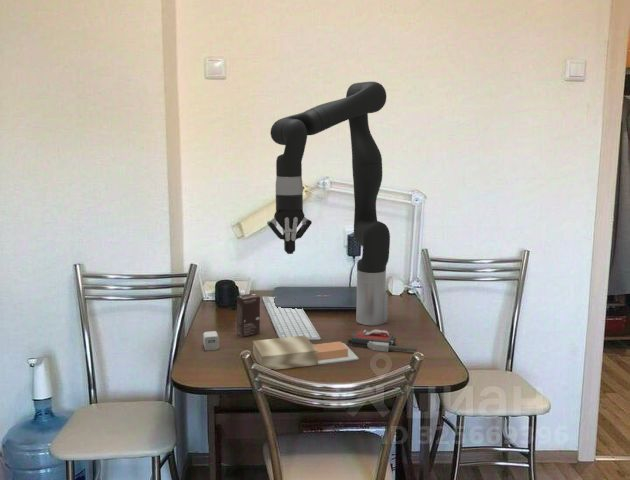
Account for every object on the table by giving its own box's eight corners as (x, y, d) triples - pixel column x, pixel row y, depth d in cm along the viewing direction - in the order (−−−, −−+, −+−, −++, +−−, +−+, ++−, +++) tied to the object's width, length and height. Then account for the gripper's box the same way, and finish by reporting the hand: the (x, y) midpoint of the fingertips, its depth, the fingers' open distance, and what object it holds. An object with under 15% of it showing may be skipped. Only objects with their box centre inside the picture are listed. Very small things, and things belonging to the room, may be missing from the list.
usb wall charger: (204, 350, 170) (204, 337, 170) (202, 342, 177) (202, 329, 176) (219, 349, 172) (218, 335, 171) (216, 341, 178) (215, 328, 177)
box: (243, 337, 180) (242, 299, 178) (236, 333, 184) (235, 295, 182) (261, 334, 184) (260, 296, 181) (254, 329, 187) (253, 292, 185)
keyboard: (321, 342, 179) (321, 334, 178) (279, 345, 176) (279, 337, 176) (295, 299, 221) (295, 293, 221) (262, 301, 219) (262, 295, 218)
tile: (340, 348, 171) (340, 341, 170) (347, 356, 165) (347, 348, 165) (310, 352, 168) (310, 345, 167) (316, 360, 162) (316, 352, 162)
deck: (305, 348, 172) (305, 335, 171) (317, 364, 160) (317, 350, 160) (253, 354, 167) (252, 340, 167) (262, 371, 156) (262, 356, 155)
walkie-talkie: (345, 349, 172) (416, 356, 167) (345, 334, 172) (416, 341, 166) (351, 338, 181) (419, 345, 176) (352, 324, 180) (419, 330, 175)
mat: (344, 344, 175) (344, 343, 175) (358, 359, 164) (358, 358, 164) (305, 348, 172) (305, 347, 172) (318, 364, 160) (318, 363, 160)
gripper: (308, 190, 172) (308, 249, 176) (263, 191, 169) (264, 252, 172) (315, 193, 165) (315, 254, 169) (268, 194, 162) (269, 257, 165)
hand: (289, 253), depth 170 cm, fingers closed
